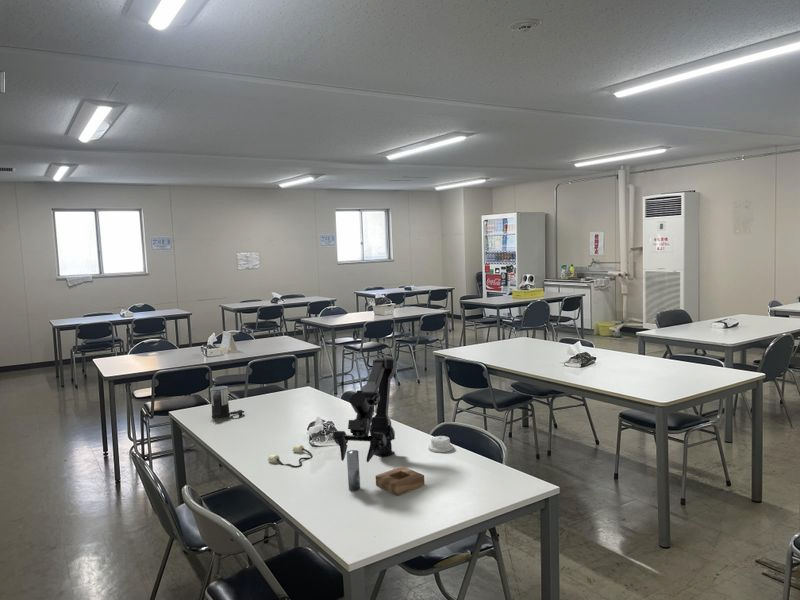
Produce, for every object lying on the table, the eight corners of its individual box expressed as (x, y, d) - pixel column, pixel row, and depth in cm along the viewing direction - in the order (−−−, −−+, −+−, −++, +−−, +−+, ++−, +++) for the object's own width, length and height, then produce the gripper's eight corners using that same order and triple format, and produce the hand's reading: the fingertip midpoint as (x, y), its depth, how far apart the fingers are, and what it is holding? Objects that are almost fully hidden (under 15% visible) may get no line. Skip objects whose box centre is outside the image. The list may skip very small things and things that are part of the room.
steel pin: (346, 488, 199) (344, 452, 198) (356, 485, 202) (353, 449, 201) (353, 492, 196) (350, 454, 195) (362, 488, 199) (360, 451, 198)
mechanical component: (425, 446, 238) (433, 454, 229) (424, 436, 238) (432, 443, 229) (447, 443, 241) (456, 451, 232) (447, 433, 241) (456, 440, 231)
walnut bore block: (376, 485, 201) (375, 475, 201) (402, 475, 208) (402, 466, 208) (397, 495, 192) (397, 485, 191) (424, 484, 199) (424, 475, 199)
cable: (324, 456, 233) (323, 448, 233) (294, 470, 220) (294, 461, 220) (297, 450, 242) (296, 442, 242) (267, 463, 229) (266, 455, 229)
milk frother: (210, 414, 303) (208, 387, 302) (241, 410, 310) (239, 383, 308) (214, 421, 290) (211, 392, 289) (246, 416, 297) (243, 388, 296)
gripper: (332, 408, 206) (322, 449, 196) (382, 410, 201) (374, 451, 191) (342, 423, 214) (332, 463, 205) (390, 425, 209) (382, 466, 199)
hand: (354, 461), depth 200 cm, fingers open, 9 cm apart
